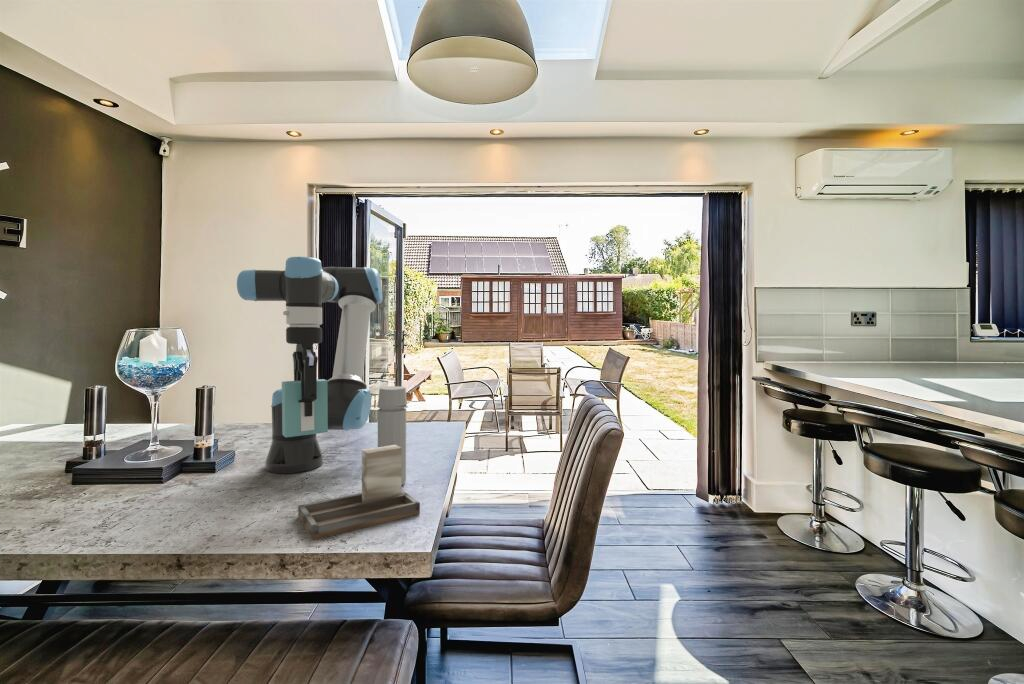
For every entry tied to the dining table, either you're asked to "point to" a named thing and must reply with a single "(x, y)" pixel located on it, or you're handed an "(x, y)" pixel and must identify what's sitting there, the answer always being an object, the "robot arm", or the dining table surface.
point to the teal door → (293, 409)
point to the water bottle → (393, 421)
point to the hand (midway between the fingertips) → (305, 428)
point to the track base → (364, 498)
